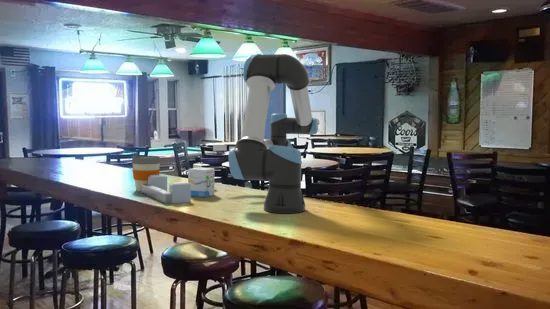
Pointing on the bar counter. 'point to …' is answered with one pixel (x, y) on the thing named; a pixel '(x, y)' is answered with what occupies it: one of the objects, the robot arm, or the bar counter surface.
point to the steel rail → (157, 193)
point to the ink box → (201, 181)
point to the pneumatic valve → (201, 165)
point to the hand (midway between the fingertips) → (221, 148)
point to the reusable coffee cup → (144, 169)
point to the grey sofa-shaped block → (172, 188)
